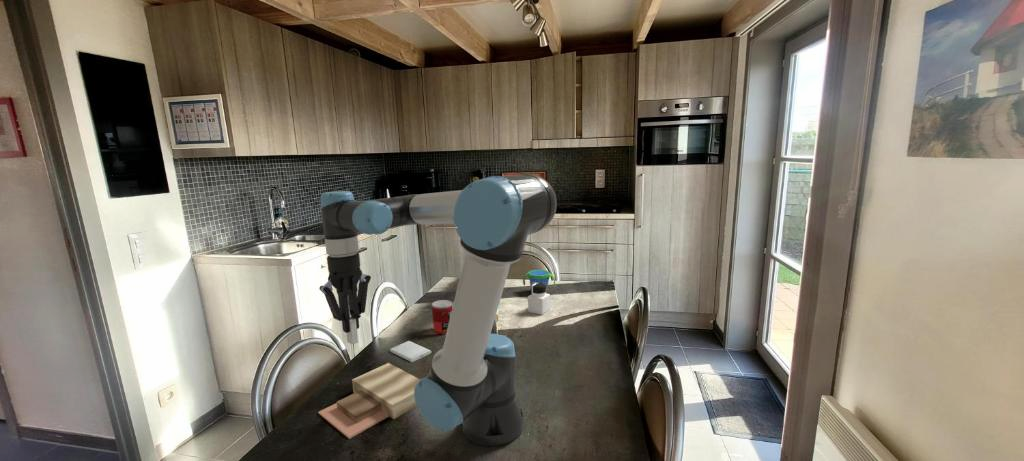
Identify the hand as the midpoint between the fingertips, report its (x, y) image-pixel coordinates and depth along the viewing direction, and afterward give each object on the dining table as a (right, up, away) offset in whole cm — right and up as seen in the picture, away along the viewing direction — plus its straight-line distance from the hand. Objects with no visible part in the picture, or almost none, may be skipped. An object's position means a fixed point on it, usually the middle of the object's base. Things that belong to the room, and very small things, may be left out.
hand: (352, 342), depth 106 cm
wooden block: (+1, -19, +3) cm, 19 cm away
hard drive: (+6, -14, +35) cm, 39 cm away
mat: (0, -19, +1) cm, 20 cm away
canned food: (+15, -10, +53) cm, 55 cm away
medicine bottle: (+53, -6, +70) cm, 88 cm away
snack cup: (+55, -1, +93) cm, 108 cm away
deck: (+7, -18, +10) cm, 21 cm away
